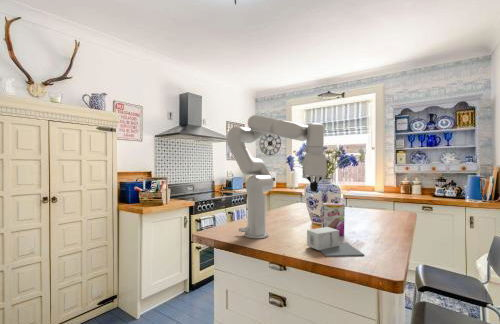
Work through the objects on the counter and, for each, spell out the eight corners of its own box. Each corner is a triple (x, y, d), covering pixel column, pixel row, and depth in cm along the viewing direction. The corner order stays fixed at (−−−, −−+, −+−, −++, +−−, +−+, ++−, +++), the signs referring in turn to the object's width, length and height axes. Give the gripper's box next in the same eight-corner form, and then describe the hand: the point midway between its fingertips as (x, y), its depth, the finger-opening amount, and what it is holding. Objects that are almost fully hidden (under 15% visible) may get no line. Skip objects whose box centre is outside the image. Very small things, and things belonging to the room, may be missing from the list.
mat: (325, 256, 104) (325, 255, 104) (313, 244, 120) (313, 243, 120) (364, 255, 105) (364, 254, 105) (346, 244, 121) (346, 242, 121)
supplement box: (318, 233, 109) (339, 229, 115) (306, 229, 116) (327, 226, 122) (318, 250, 109) (339, 246, 115) (306, 246, 116) (327, 242, 122)
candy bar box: (323, 235, 136) (323, 204, 136) (321, 233, 141) (321, 202, 141) (344, 236, 135) (344, 204, 135) (342, 233, 140) (342, 203, 140)
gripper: (300, 150, 113) (299, 192, 113) (333, 151, 114) (332, 192, 114) (296, 150, 121) (295, 190, 121) (328, 151, 121) (327, 190, 121)
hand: (313, 191), depth 117 cm, fingers closed
